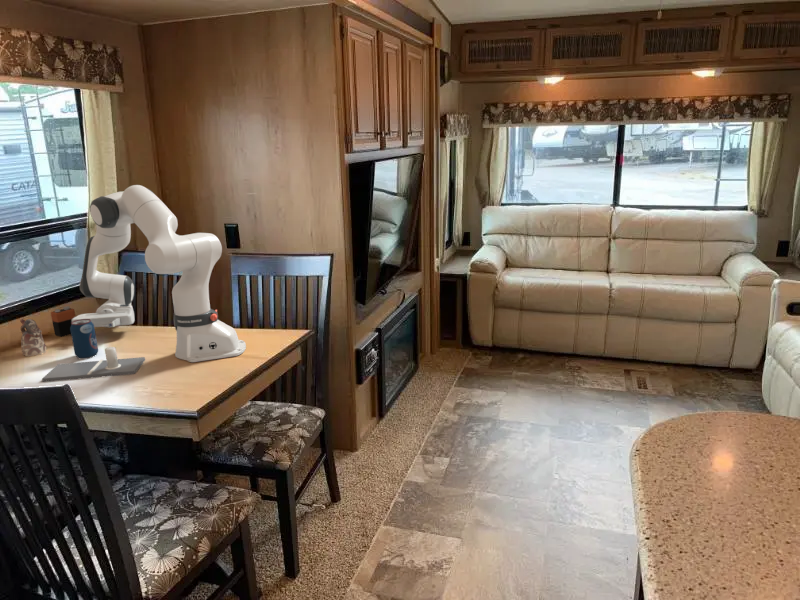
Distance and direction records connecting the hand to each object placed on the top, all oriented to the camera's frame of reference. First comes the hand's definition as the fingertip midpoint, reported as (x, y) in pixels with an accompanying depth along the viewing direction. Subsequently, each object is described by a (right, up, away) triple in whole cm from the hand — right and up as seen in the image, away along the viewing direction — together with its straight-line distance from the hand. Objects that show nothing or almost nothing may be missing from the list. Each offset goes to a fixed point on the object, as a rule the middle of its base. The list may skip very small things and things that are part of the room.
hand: (96, 326), depth 205 cm
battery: (-19, -4, +14) cm, 24 cm away
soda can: (+2, -10, -10) cm, 14 cm away
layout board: (+12, -13, -23) cm, 29 cm away
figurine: (-18, -9, -5) cm, 21 cm away
